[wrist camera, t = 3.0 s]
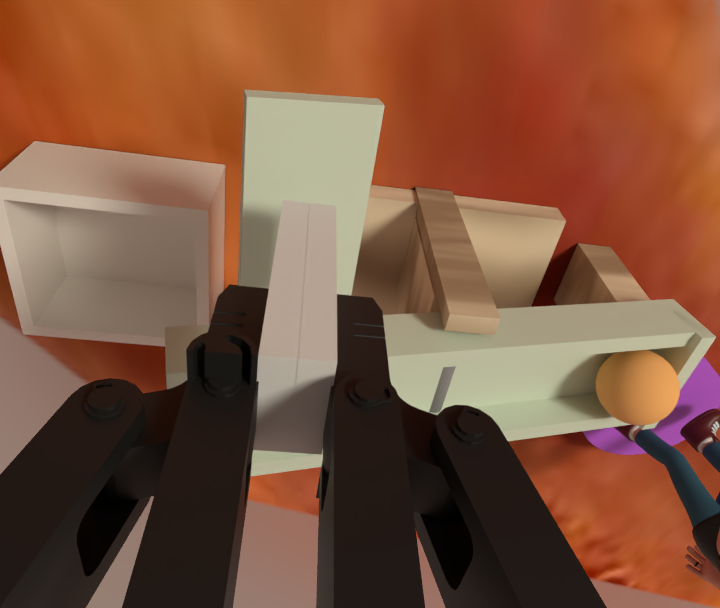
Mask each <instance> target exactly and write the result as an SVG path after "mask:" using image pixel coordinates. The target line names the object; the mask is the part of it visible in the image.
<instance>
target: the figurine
mask: <svg viewBox="0 0 720 608" xmlns="http://www.w3.org/2000/svg"><path fill="white" fill-rule="evenodd" d="M719 406H720V377H719V376H718V374H717V373H716V372H715V370H714V369H713V368H712V366H711V365H710V364H709V363H708V361H707V360H706V359H705V357H704V356H703V357H702V359H701V360H700V362H699V363H698V365H697V366H696V368H695V369H694V371H693V372H692V374H691V375H690V377H689V378H688V380H687V381H686V383H685V384H684V385H683V387H682V388H681V390H680V395H679V399H678V402H677V404H676V406H675V408H674V409H673V411H672V412H671V413H670V414H669V415H668V416H667V417H665V418H664V419H662V420H661V421H659V422H658V424H657V425H656V427H655V428H652V429H645V430H642V429H641V428H640V427H639V426H638V425H624V426H617V427H610V428H602V429H595V430H588V431H583V433H584V435H585V437H586V438H587V439H588V441H589V442H590V443H592V444H593V445H594V446H595V447H597V448H599V449H601V450H603V451H606V452H610V453H614V454H624V455H633V454H644V453H648V454H649V455H650V456H652V457H653V458H655V459H656V460H657V461H659V462H661V463H662V464H664V465H665V466H666V468H667V470H668V472H669V475H670V477H671V479H672V482H673V484H674V487H675V489H676V491H677V493H678V495H679V497H680V499H681V501H682V503H683V505H684V507H685V509H686V511H687V513H688V515H689V518H690V520H691V523H692V526H693V530H692V533H693V537H694V540H695V542H696V544H697V545H696V546H695V549H696V550H697V551H698V552H699V553H700V554H701V555H702V556H703V557H704V558H705V559H704V558H703V557H702V556H701V555H700V554H698V553H697V552H696V551H695V550H694V549H693V548H691V547H690V546H688V547H687V550H688V551H689V552H690V553H691V554H692V555H693V556H694V557H695V558H697V559H698V560H699V561H700V562H701V563H702V564H700V563H699V562H697V561H696V560H695V559H694V558H692V557H691V556H690V555H688V554H687V555H686V556H685V557H686V559H687V560H688V561H690V562H691V563H692V564H693V565H694V566H695V567H697V568H698V569H700V571H699V570H697V569H695V568H694V567H693V566H691V565H689V564H687V565H686V568H687V569H688V570H690V571H691V572H692V573H694V574H695V575H697V576H699V577H701V578H703V579H705V580H706V581H708V582H710V583H711V584H713V585H714V586H715V587H717V588H718V589H720V492H719V494H718V496H717V499H716V501H715V500H714V499H713V498H712V496H711V495H710V494H709V492H708V491H707V490H706V488H705V487H704V485H703V484H702V483H701V481H700V480H699V478H698V477H697V475H696V474H695V472H694V471H693V469H692V468H691V466H690V464H689V463H688V461H687V460H686V458H685V457H684V456H683V455H682V454H681V453H680V452H679V451H678V450H676V449H675V448H674V447H672V445H675V444H677V443H679V442H681V441H683V440H685V439H686V440H687V442H688V443H689V444H690V445H691V446H692V447H693V448H694V449H695V450H696V451H697V452H702V454H703V455H704V457H705V458H706V459H707V460H708V461H709V462H710V463H711V464H712V466H713V467H714V468H715V469H716V470H717V471H719V472H720V441H719V440H718V438H717V437H716V434H715V433H716V431H717V429H718V428H719V427H720V411H719V410H718V408H719Z"/></svg>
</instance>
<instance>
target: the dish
mask: <svg viewBox="0 0 720 608" xmlns="http://www.w3.org/2000/svg"><path fill="white" fill-rule="evenodd" d="M224 229H225V165H223V164H215V163H207V162H199V161H191V160H183V159H175V158H167V157H159V156H151V155H143V154H135V153H127V152H119V151H111V150H103V149H95V148H87V147H79V146H71V145H63V144H55V143H47V142H39V141H34V142H33V143H32V144H31V145H29V146H28V147H27V148H26V149H25V150H24V151H23V152H22V153H20V154H19V155H18V156H17V157H16V158H15V159H14V160H13V161H11V162H10V163H9V164H8V165H7V166H6V167H5V168H4V169H3V170H1V171H0V246H1V250H2V254H3V258H4V262H5V266H6V270H7V273H8V277H9V281H10V285H11V289H12V293H13V297H14V301H15V305H16V309H17V313H18V317H19V321H20V325H21V329H22V332H23V334H25V335H36V336H48V337H59V338H71V339H83V340H94V341H106V342H118V343H129V344H141V345H152V346H164V347H165V327H173V326H191V325H209V324H211V319H212V315H213V313H214V308H215V304H216V301H217V297H218V296H219V295H220V294H221V293H222V292H223V291H224Z"/></svg>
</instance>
